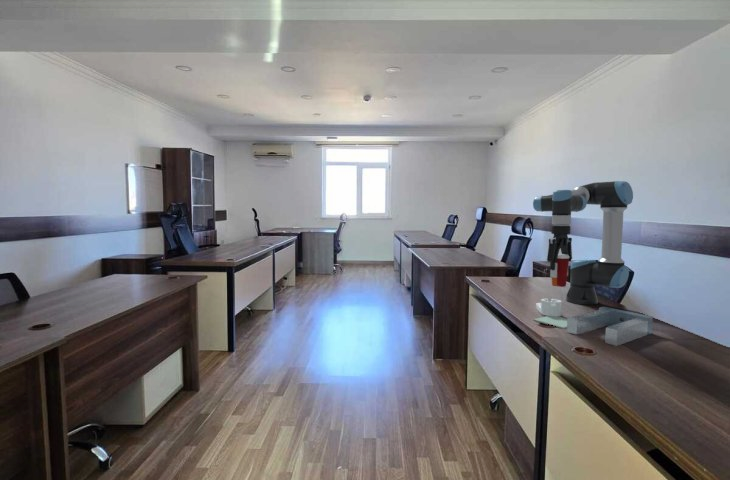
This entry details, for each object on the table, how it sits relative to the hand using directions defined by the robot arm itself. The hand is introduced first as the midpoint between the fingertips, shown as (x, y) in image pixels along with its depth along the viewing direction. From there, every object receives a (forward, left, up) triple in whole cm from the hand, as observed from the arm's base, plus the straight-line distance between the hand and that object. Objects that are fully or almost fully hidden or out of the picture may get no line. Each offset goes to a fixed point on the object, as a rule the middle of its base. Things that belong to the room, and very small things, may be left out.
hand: (559, 276), depth 170 cm
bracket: (-12, -12, -21) cm, 27 cm away
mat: (0, 0, -21) cm, 21 cm away
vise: (-8, +20, -21) cm, 30 cm away
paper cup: (0, 0, -4) cm, 4 cm away
